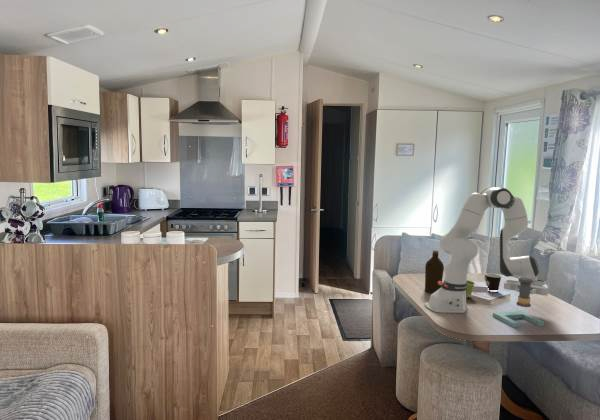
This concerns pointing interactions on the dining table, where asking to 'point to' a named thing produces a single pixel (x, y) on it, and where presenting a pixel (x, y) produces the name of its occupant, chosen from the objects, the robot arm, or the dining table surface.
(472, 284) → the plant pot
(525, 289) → the door knob
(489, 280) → the coffee mug
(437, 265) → the olive oil
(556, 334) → the dining table surface
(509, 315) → the notched board
